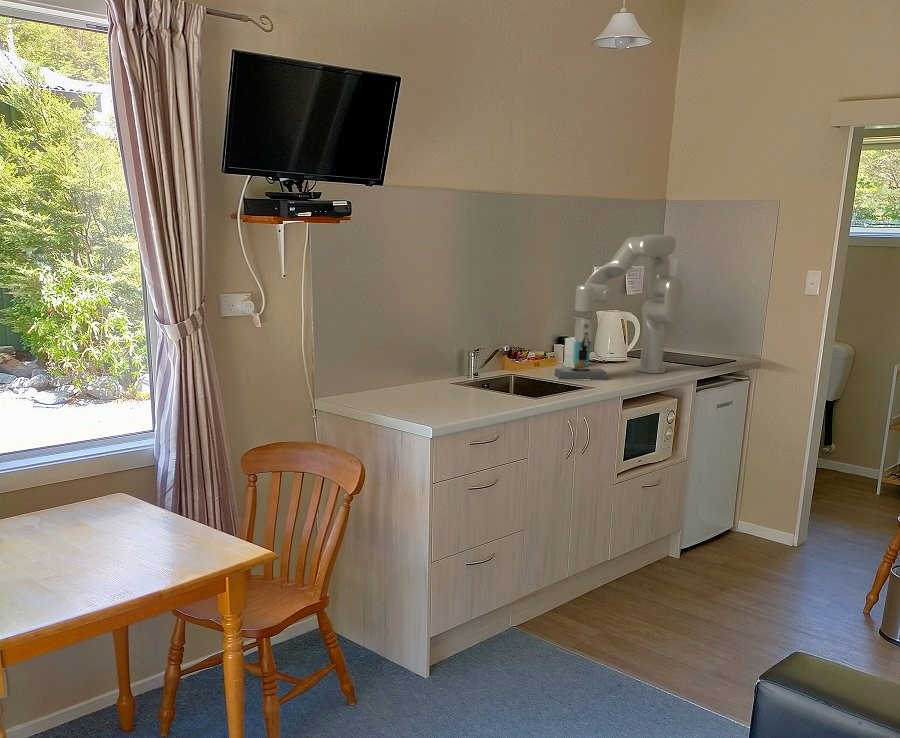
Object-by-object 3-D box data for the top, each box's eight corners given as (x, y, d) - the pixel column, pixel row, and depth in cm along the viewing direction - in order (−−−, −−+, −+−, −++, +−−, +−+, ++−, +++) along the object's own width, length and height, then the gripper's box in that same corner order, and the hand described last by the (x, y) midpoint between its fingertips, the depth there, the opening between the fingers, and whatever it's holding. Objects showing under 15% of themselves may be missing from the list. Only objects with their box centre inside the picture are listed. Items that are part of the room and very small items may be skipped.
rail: (600, 376, 341) (601, 368, 341) (605, 380, 335) (606, 371, 334) (554, 376, 339) (555, 368, 338) (558, 379, 332) (559, 371, 331)
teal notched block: (586, 363, 337) (588, 342, 336) (588, 364, 335) (590, 343, 333) (572, 363, 337) (574, 341, 335) (574, 364, 334) (576, 342, 332)
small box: (574, 368, 358) (576, 339, 356) (563, 366, 363) (564, 337, 360) (585, 366, 364) (587, 338, 361) (574, 364, 368) (575, 336, 366)
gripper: (598, 317, 324) (595, 362, 328) (586, 312, 340) (584, 355, 344) (580, 317, 323) (577, 362, 327) (569, 312, 339) (567, 355, 343)
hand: (581, 358), depth 335 cm, fingers closed on teal notched block, 3 cm apart
